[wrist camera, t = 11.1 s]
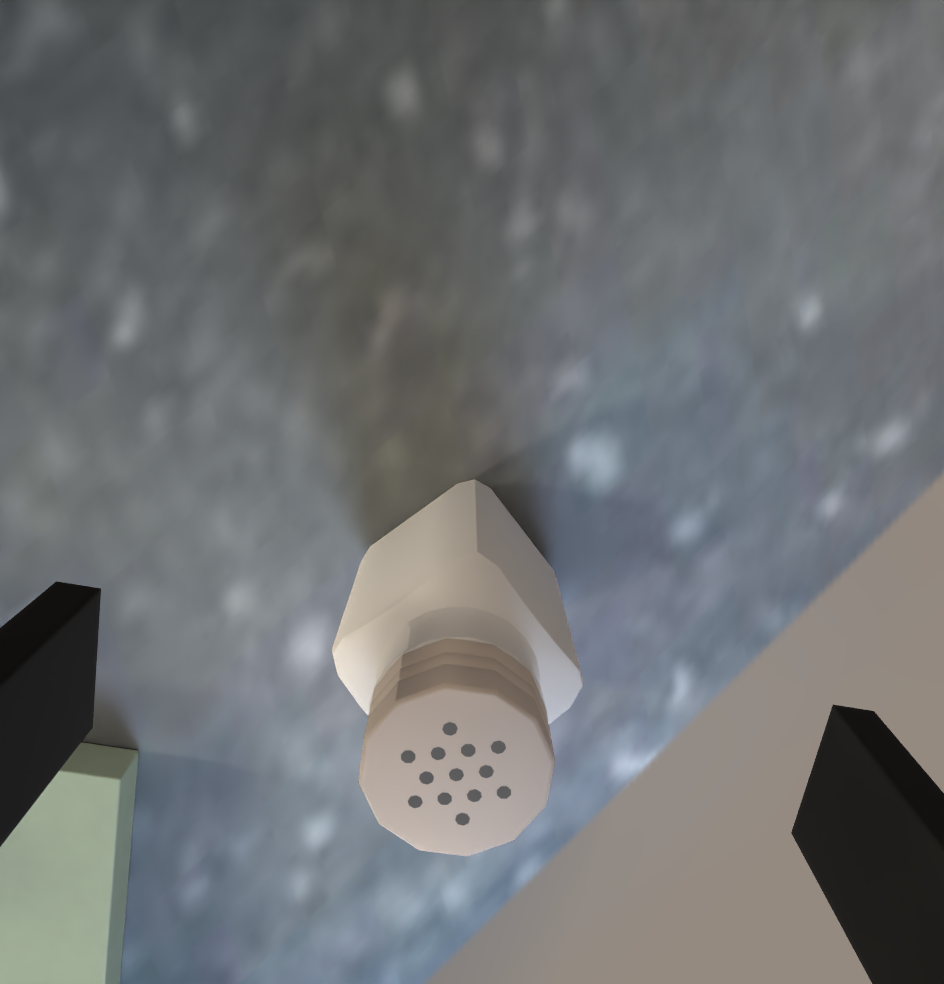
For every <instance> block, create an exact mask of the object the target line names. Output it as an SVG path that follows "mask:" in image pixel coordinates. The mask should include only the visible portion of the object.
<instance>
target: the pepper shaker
mask: <svg viewBox="0 0 944 984" xmlns="http://www.w3.org/2000/svg"><path fill="white" fill-rule="evenodd" d="M332 653H333V657H334V661H335V665H336V670H337V674H338V676H339V678H340V679H341V680H342V682H343V683H344V684H345V686H346V687H347V689H348V690H349V691H350V693H351V694H352V696H353V697H354V698H355V700H356V701H357V702H358V704H359V705H360V707H361V708H362V709H363V710H364V711H365V713H366V714H367V715H368V721H367V726H366V730H365V735H364V742H363V750H362V757H361V765H360V773H359V781H358V782H359V784H360V786H361V788H362V790H363V792H364V795H365V797H366V799H367V801H368V803H369V805H370V807H371V809H372V811H373V813H374V815H375V817H376V819H377V821H378V823H379V824H380V825H382V826H383V827H385V828H386V829H388V830H389V831H391V832H392V833H394V834H395V835H397V836H398V837H400V838H401V839H403V840H404V841H406V842H407V843H409V844H410V845H412V846H413V847H415V848H416V849H418V850H421V851H429V852H437V853H446V854H454V855H462V856H470V855H473V854H476V853H479V852H482V851H485V850H487V849H490V848H493V847H496V846H499V845H502V844H505V843H508V842H511V841H514V840H515V839H516V838H517V837H518V836H519V834H520V833H521V832H522V831H523V830H524V829H525V828H526V827H527V826H528V825H529V824H530V823H531V822H532V821H533V820H534V818H535V817H536V816H537V815H538V814H539V813H540V812H541V811H542V810H543V809H544V808H545V807H546V805H547V800H548V795H549V790H550V785H551V780H552V775H553V770H554V765H555V758H554V752H553V746H552V740H551V737H550V735H551V734H550V728H549V724H550V723H551V722H553V721H554V720H555V719H556V718H558V717H559V716H560V715H561V714H562V713H564V712H565V711H566V710H567V709H569V708H570V707H571V706H572V704H573V702H574V700H575V699H576V697H577V695H578V693H579V691H580V689H581V688H582V686H583V683H584V682H583V678H582V674H581V669H580V665H579V661H578V658H577V654H576V650H575V646H574V643H573V639H572V635H571V631H570V628H569V624H568V620H567V616H566V613H565V609H564V605H563V601H562V598H561V594H560V590H559V586H558V583H557V579H556V575H555V572H554V570H553V569H552V568H551V566H550V565H549V564H548V562H547V561H546V560H545V558H544V557H543V556H542V555H541V553H540V552H539V551H538V549H537V548H536V547H535V545H534V544H533V543H532V542H531V540H530V539H529V538H528V536H527V535H526V534H525V532H524V531H523V530H522V529H521V527H520V526H519V525H518V523H517V522H516V521H515V519H514V518H513V517H512V515H511V514H510V513H509V512H508V510H507V509H506V508H505V506H504V505H503V504H502V502H501V501H500V500H499V499H498V497H497V496H496V495H495V493H494V492H493V491H492V489H491V488H489V487H488V486H486V485H484V484H482V483H481V482H479V481H477V480H475V479H474V480H470V481H466V482H461V483H457V484H456V485H455V486H453V487H452V488H450V489H449V490H448V491H446V492H445V493H443V494H442V495H441V496H439V497H438V498H436V499H435V500H434V501H432V502H431V503H430V504H428V505H427V506H425V507H424V508H423V509H421V510H420V511H418V512H417V513H416V514H414V515H413V516H412V517H410V518H409V519H407V520H406V521H405V522H403V523H402V524H400V525H399V526H398V527H396V528H395V529H394V530H392V531H391V532H389V533H388V534H387V535H385V536H384V537H382V538H381V539H380V540H378V541H377V542H376V543H374V544H373V545H371V546H370V547H369V549H368V551H367V552H366V554H365V556H364V557H363V559H362V561H361V564H360V567H359V570H358V573H357V576H356V579H355V582H354V585H353V588H352V591H351V594H350V597H349V600H348V603H347V606H346V609H345V612H344V615H343V618H342V621H341V624H340V627H339V630H338V633H337V636H336V639H335V642H334V645H333V648H332Z"/></svg>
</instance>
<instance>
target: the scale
mask: <svg viewBox="0 0 944 984" xmlns="http://www.w3.org/2000/svg"><path fill="white" fill-rule="evenodd" d="M138 754H139V752H138V751H136V750H129V749H123V748H116V747H109V746H102V745H96V744H89V743H82V742H81V743H80V744H79V746H78V747H77V748H76V750H75V751H74V752H73V753H72V755H71V756H70V757H69V759H68V760H67V761H66V763H65V764H64V765H63V766H62V768H61V769H60V770H59V772H58V773H57V774H56V776H55V777H54V778H53V779H52V781H51V782H50V783H49V785H48V786H47V787H46V789H45V790H44V791H43V792H42V794H41V795H40V796H39V798H38V799H37V800H36V802H35V803H34V804H33V805H32V807H31V808H30V809H29V811H28V812H27V813H26V815H25V816H24V817H23V818H22V820H21V821H20V822H19V824H18V825H17V826H16V827H15V829H14V830H13V831H12V833H11V834H10V835H9V837H8V838H7V839H6V840H5V842H4V843H3V844H2V846H1V847H0V984H120V975H121V963H122V951H123V939H124V926H125V914H126V902H127V890H128V877H129V865H130V853H131V840H132V828H133V816H134V804H135V791H136V779H137V767H138Z"/></svg>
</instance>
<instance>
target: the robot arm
mask: <svg viewBox="0 0 944 984" xmlns="http://www.w3.org/2000/svg"><path fill="white" fill-rule="evenodd" d="M100 596H101V589H100V588H94V587H88V586H81V585H75V584H69V583H62V582H55V583H54V584H53V585H52V586H50V587H49V588H48V589H47V590H46V591H44V592H43V593H42V594H41V595H40V596H38V597H37V598H36V599H35V600H33V601H32V602H31V603H30V604H29V605H27V606H26V607H25V608H24V609H23V610H21V611H20V612H19V613H18V614H17V615H15V616H14V617H13V618H12V619H11V620H9V621H8V622H7V623H6V624H5V625H3V626H2V627H1V628H0V847H1V846H2V844H3V843H4V842H5V840H6V839H7V838H8V837H9V835H10V834H11V833H12V831H13V830H14V829H15V827H16V826H17V825H18V824H19V822H20V821H21V820H22V818H23V817H24V816H25V815H26V813H27V812H28V811H29V809H30V808H31V807H32V805H33V804H34V803H35V802H36V800H37V799H38V798H39V796H40V795H41V794H42V792H43V791H44V790H45V789H46V787H47V786H48V785H49V783H50V782H51V781H52V779H53V778H54V777H55V776H56V774H57V773H58V772H59V770H60V769H61V768H62V766H63V765H64V764H65V763H66V761H67V760H68V759H69V757H70V756H71V755H72V753H73V752H74V751H75V750H76V748H77V747H78V746H79V744H80V743H81V742H82V741H83V739H84V738H85V737H86V735H87V734H88V733H89V731H90V730H91V729H92V727H93V710H94V694H95V678H96V661H97V645H98V629H99V612H100ZM792 835H793V837H794V839H795V841H796V843H797V844H798V846H799V848H800V850H801V852H802V854H803V856H804V857H805V859H806V861H807V863H808V865H809V867H810V869H811V870H812V872H813V874H814V876H815V878H816V880H817V881H818V883H819V885H820V887H821V889H822V891H823V893H824V895H825V897H826V898H827V900H828V902H829V904H830V906H831V908H832V910H833V911H834V913H835V915H836V917H837V919H838V921H839V922H840V924H841V926H842V928H843V930H844V932H845V933H846V936H847V937H848V939H849V941H850V943H851V945H852V947H853V949H854V950H855V952H856V954H857V956H858V958H859V960H860V962H861V963H862V965H863V967H864V969H865V971H866V973H867V975H868V976H869V978H870V980H871V982H872V984H944V793H943V792H942V791H941V790H940V789H939V787H938V786H937V785H936V784H935V783H934V781H933V780H932V779H931V778H930V777H929V776H928V774H927V773H926V772H925V771H924V770H923V769H922V767H921V766H920V765H919V764H918V763H917V762H916V760H915V759H914V758H913V757H912V756H911V755H910V753H909V752H908V751H907V750H906V748H905V747H904V746H903V745H902V744H901V743H900V742H899V740H898V739H897V738H896V737H895V736H894V734H893V733H892V732H891V731H890V730H889V729H888V728H887V726H886V725H885V724H884V723H883V721H882V720H881V719H880V718H879V717H878V716H877V714H875V712H874V711H869V710H863V709H857V708H850V707H844V706H837V705H833V706H832V709H831V712H830V715H829V719H828V722H827V725H826V728H825V731H824V734H823V737H822V741H821V743H820V746H819V750H818V752H817V755H816V759H815V762H814V765H813V768H812V771H811V774H810V777H809V780H808V783H807V786H806V789H805V792H804V796H803V799H802V802H801V805H800V808H799V811H798V814H797V817H796V820H795V823H794V826H793V829H792Z"/></svg>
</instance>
